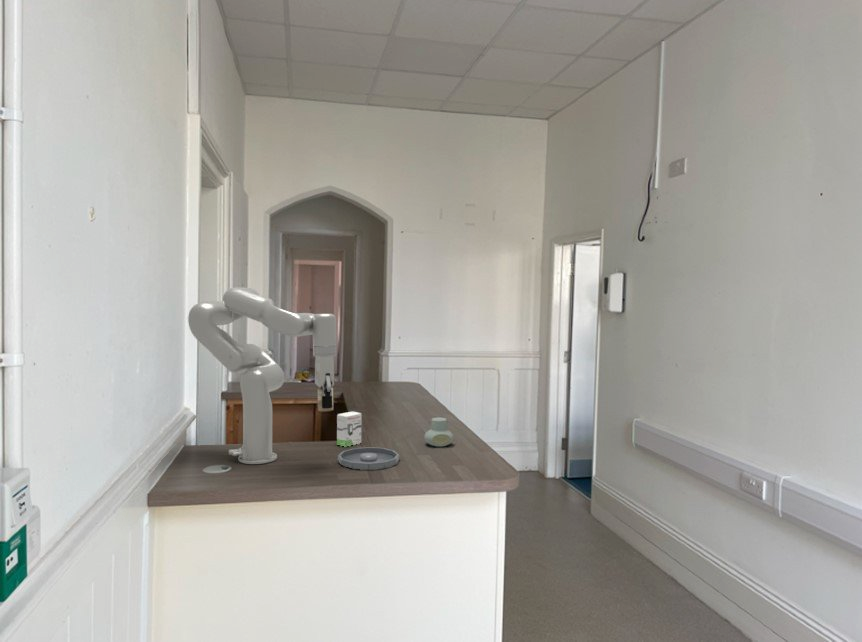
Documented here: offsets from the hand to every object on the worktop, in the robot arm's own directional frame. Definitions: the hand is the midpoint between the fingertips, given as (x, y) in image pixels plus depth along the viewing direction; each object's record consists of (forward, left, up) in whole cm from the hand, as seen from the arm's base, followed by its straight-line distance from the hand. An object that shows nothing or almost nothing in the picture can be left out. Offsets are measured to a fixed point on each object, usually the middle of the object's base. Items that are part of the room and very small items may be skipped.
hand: (325, 406), depth 192 cm
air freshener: (+46, +13, -20) cm, 52 cm away
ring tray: (+15, 0, -20) cm, 25 cm away
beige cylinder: (0, 0, -1) cm, 1 cm away
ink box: (+14, +24, -20) cm, 34 cm away
